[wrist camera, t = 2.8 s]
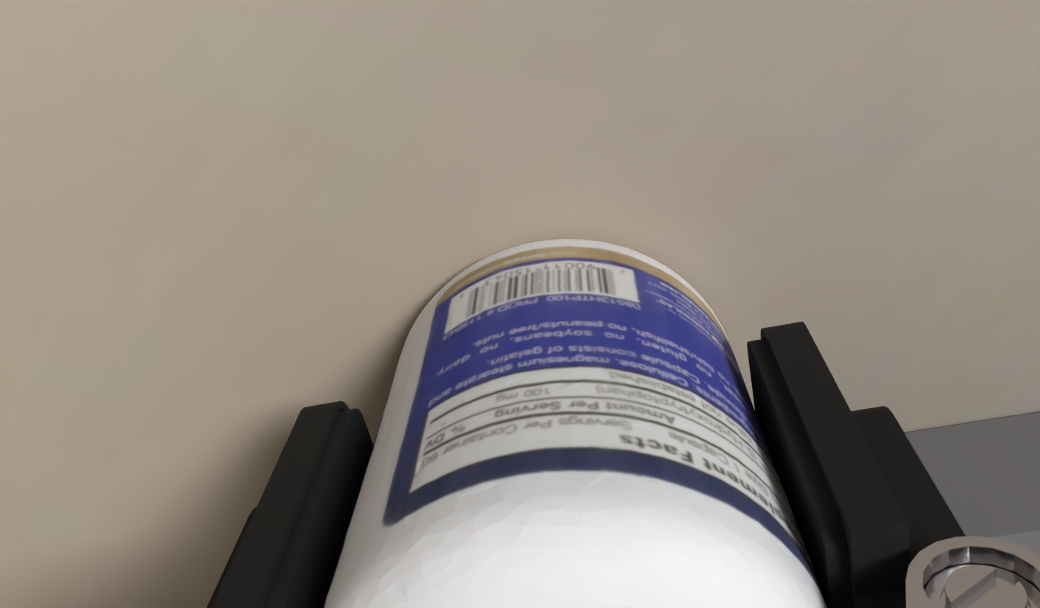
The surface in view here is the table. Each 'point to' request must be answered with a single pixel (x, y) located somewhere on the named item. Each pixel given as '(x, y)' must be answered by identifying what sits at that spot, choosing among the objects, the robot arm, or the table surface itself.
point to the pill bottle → (571, 451)
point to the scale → (988, 475)
